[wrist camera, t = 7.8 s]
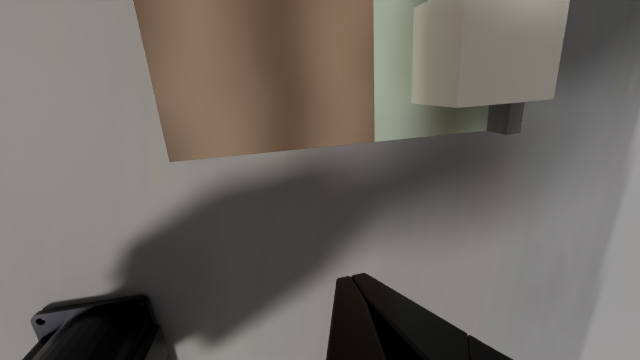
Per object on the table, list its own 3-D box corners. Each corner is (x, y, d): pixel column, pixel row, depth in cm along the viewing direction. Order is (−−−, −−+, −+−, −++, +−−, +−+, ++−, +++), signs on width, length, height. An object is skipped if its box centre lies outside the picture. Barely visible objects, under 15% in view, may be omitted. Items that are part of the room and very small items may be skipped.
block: (411, 103, 16) (456, 107, 12) (413, 8, 14) (465, -21, 11) (487, 97, 16) (553, 99, 13) (496, 5, 15) (573, -23, 11)
